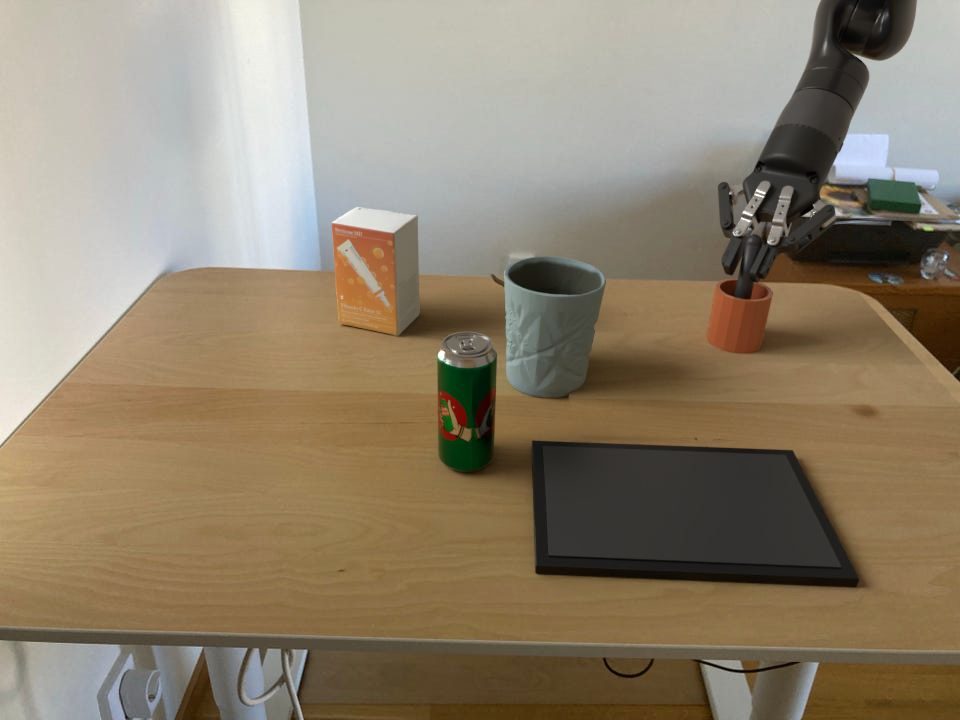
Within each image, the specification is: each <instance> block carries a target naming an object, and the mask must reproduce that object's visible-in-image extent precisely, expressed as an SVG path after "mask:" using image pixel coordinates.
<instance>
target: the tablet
mask: <svg viewBox="0 0 960 720" xmlns="http://www.w3.org/2000/svg"><path fill="white" fill-rule="evenodd" d="M530 448H531V476H532V504H533V505H532V509H533V510H532V511H533V513H532V514H533V540H534V543H533V544H534V545H533V546H534V573H535V574H536V575H560V576H581V577H582V576H585V577H606V578H607V577H608V578H627V579H628V578H629V579H630V578H632V579H655V580H675V581H677V580H679V581H701V582H723V583H724V582H726V583H751V584H773V585H798V586H821V587H843V588H844V587H845V588H846V587H847V588H857V587H858V586H859V585H858V584H859V581H860V577H859V575H858V573H857V570H856V569H855V567H854V565H853V563H852V562H851V559H850V557H849V556H848V554H847V551H846V550H845V548H844V546H843V544H842V541H841V540H840V538H839V536H838V534H837V532H836V530H835V529H834V526H833V525H832V523H831V521H830V519H829V517H828V515H827V513H826V511H825V509H824V507H823V506H822V505H823V504H821V502H820V499H819V498H818V496H817V493H816V491H815V490H814V488H813V485H812V484H811V483H810V480H809V479H808V477H807V475H806V473H805V471H804V469H803V467H802V465H801V462H800V461H799V460H798V458H797V455H796V453H795V451H794V449H775V448H774V449H773V448H747V447H746V448H745V447H744V448H743V447H724V446H723V447H721V446H720V447H719V446H697V445H696V446H691V445H667V444H665V445H664V444H661V445H660V444H641V443H640V444H638V443H615V442H614V443H613V442H612V443H611V442H608V443H607V442H586V441H585V442H584V441H561V440H560V441H558V440H533V439H532V440H531V447H530Z"/></svg>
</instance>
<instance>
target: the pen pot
mask: <svg viewBox="0 0 960 720" xmlns="http://www.w3.org/2000/svg"><path fill="white" fill-rule="evenodd" d="M737 280H738V277H737V278H735V277H733V278H725V279H721V280H719V281H718V282H716V284H715V286H714V291H713V296H712V302H711V307H710V313H709V318H708V322H707V325H708V326H707V328H706V335H705V338H706V340H707V342H708V343H709V344H710V345H711V346H713V347H714V348H716V349H718V350H720V351H724V352H727V353H732V354H751V353H755V352H757V351H759V350H760V349H761V348H762V345H763V342H764V341H763V340H764V336H765V333H766V327H767V323H768V318H769V315H770V309H771V305H772V302H773V296H774V292H773V290H772V288H771V287H769V286H767V285H766V284H764V283H761V282H760V281H759V282H758V283H756V282H754V286H753V290H752V295H751V299H741V298H736V297H734V295H735V290H736V285H737Z"/></svg>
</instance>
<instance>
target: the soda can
mask: <svg viewBox="0 0 960 720" xmlns="http://www.w3.org/2000/svg"><path fill="white" fill-rule="evenodd" d="M436 361H437V362H436V363H437V364H436V366H437V367H436V369H437V371H436V373H437V374H436V375H437V377H436V378H437V443H438V444H437V451H438V452H437V454H438V458H439V460H440V462H441V463H442V464H444V465H445V466H446V467H447V468H449V469H451V470H452V471H455V472H459V473H474V472H478V471H480V470H482V469H484V468H485V467H487V466H488V465H489V464H490V463H491V462H492V460H493V459H494V456H495V435H496V434H495V433H496V432H495V431H496V429H495V428H496V406H497V405H496V403H497V374H498V373H497V372H498V352H497V351H496V349H495V348H494V342H493V340H492V339H491V338H490V337H489V336H488V335H486V334H484V333H480V332H476V331H458V332H453V333H450V334H448V335H446V336H445V337H444V338H442V341H441V346H440V348H439V349H438V350H437V354H436Z"/></svg>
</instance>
